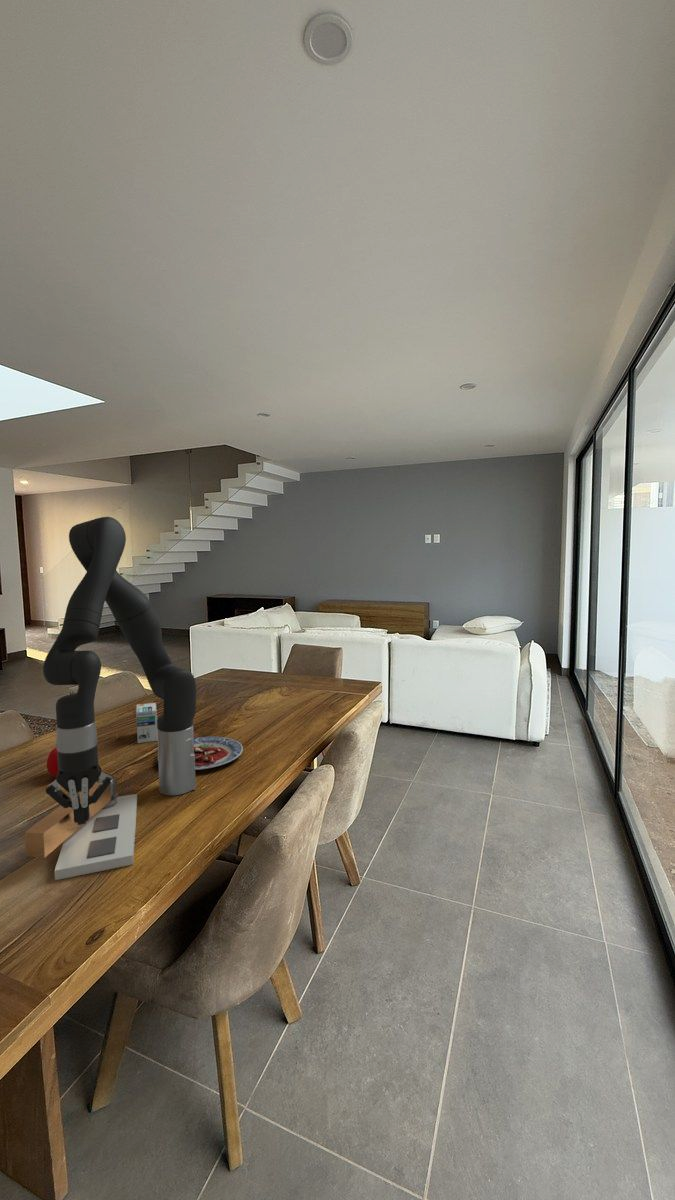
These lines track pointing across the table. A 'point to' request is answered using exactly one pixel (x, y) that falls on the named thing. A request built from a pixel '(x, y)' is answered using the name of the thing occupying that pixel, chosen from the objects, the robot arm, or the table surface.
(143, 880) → the table surface
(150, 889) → the table surface
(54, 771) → the fruit
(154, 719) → the light bulb box
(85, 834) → the label board
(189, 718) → the robot arm
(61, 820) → the swing arm
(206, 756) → the ceramic plate
